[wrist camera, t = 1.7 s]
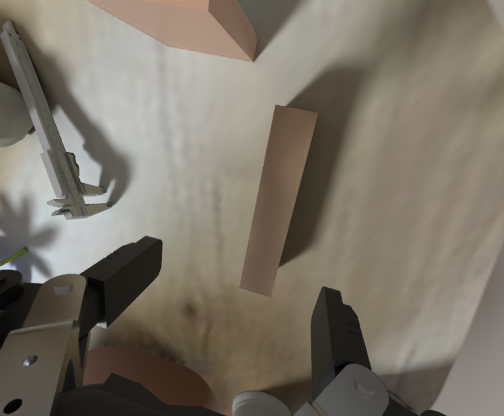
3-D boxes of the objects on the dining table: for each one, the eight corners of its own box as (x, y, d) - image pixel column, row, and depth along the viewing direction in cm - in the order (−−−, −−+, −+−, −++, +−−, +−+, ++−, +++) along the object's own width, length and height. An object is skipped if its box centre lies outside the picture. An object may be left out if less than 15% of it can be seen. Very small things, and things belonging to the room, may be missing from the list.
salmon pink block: (258, 33, 20) (214, -47, 11) (253, 62, 21) (207, 10, 11) (170, 18, 21) (61, -66, 12) (168, 46, 22) (64, -12, 12)
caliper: (116, 205, 29) (66, 225, 23) (109, 208, 29) (59, 229, 23) (14, 21, 24) (-80, -12, 19) (7, 27, 25) (-86, -4, 19)
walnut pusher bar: (316, 115, 21) (318, 112, 16) (277, 267, 27) (270, 297, 22) (282, 109, 21) (275, 104, 17) (251, 260, 27) (239, 287, 23)
